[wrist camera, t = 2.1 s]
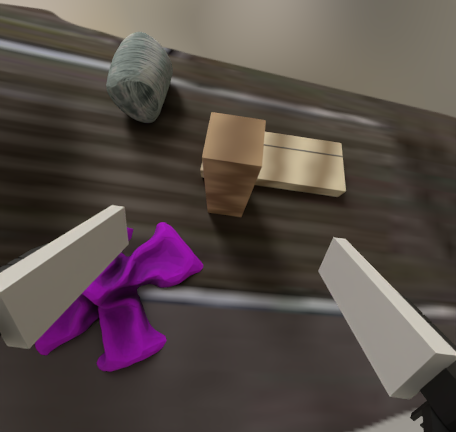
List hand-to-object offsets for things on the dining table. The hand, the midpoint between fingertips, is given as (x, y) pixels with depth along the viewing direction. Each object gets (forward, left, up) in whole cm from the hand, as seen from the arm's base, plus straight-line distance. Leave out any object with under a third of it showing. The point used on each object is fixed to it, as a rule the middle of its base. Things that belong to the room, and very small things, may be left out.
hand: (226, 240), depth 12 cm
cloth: (-7, -12, -15) cm, 21 cm away
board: (-7, +17, -14) cm, 23 cm away
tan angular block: (-9, +10, -14) cm, 19 cm away
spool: (-30, +9, -14) cm, 35 cm away
